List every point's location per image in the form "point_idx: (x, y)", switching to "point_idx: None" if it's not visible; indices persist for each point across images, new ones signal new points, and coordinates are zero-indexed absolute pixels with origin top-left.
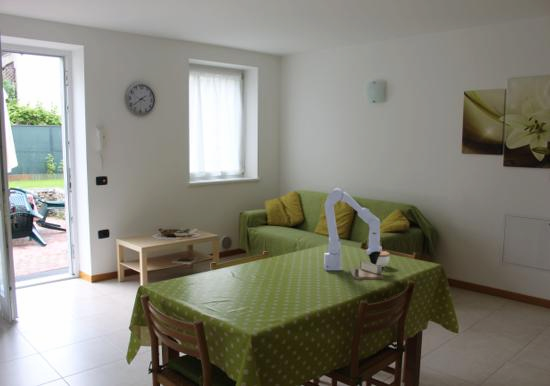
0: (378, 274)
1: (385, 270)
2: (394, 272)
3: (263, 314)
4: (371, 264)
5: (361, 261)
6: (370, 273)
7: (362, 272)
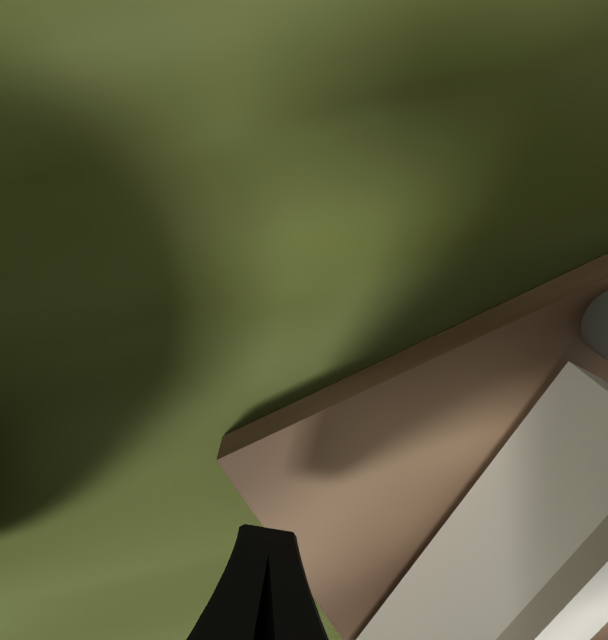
0: None
1: (82, 313)
2: (120, 107)
3: None
4: (593, 615)
5: None
6: None
7: None
